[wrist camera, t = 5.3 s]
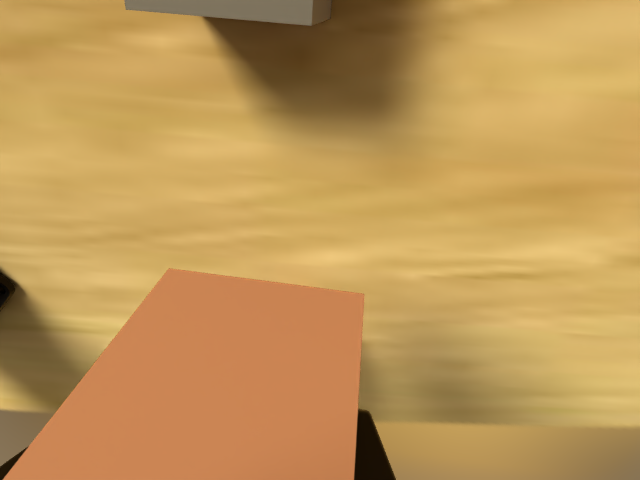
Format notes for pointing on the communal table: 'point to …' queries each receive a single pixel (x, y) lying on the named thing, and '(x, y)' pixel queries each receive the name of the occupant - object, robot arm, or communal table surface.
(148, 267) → the communal table surface
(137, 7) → the gray block
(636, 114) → the communal table surface
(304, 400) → the terracotta block
